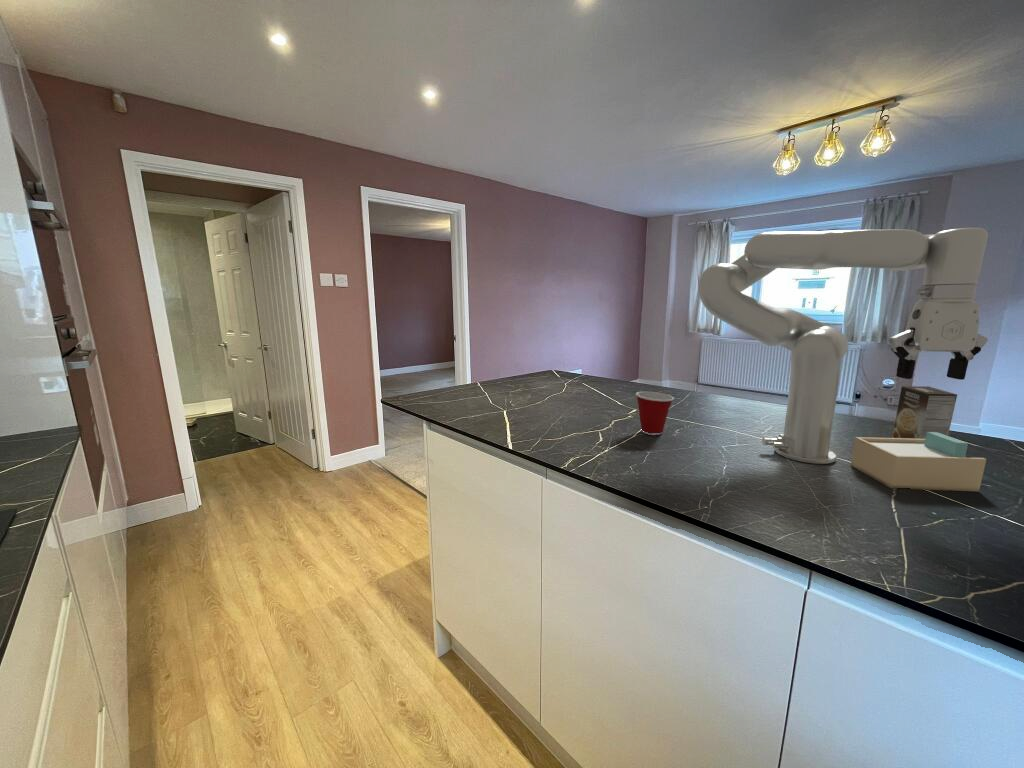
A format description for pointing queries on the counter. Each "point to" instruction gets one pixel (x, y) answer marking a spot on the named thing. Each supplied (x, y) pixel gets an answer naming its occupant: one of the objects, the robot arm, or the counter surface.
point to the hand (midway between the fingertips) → (929, 378)
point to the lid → (928, 447)
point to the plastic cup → (653, 410)
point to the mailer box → (916, 467)
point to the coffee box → (923, 412)
